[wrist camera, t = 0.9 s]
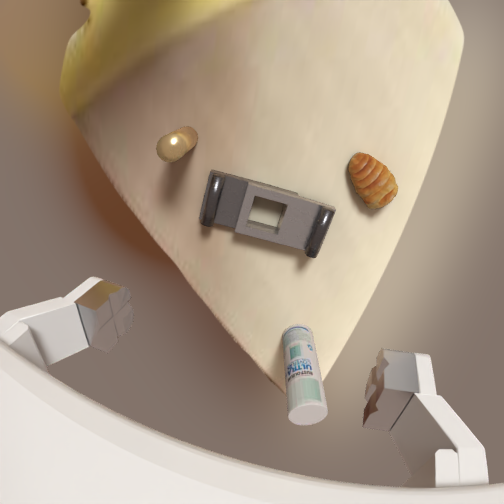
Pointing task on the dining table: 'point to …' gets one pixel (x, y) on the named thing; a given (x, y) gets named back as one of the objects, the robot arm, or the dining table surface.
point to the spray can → (303, 377)
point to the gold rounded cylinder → (176, 144)
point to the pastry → (372, 180)
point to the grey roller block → (286, 233)
